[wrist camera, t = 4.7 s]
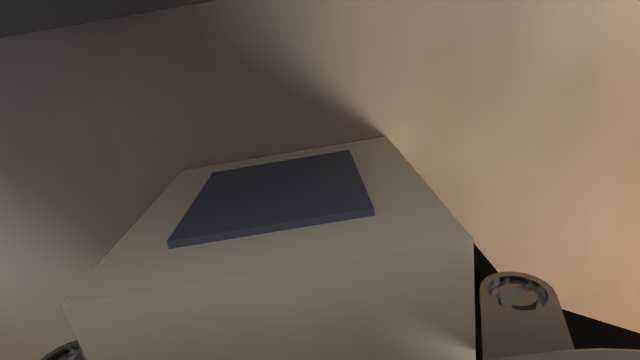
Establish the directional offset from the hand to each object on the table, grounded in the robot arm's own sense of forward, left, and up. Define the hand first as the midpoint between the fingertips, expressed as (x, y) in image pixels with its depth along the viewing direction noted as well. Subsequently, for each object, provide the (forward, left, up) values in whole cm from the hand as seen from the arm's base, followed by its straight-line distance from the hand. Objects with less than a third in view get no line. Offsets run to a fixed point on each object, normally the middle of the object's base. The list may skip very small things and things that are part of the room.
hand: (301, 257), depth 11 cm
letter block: (0, 0, -1) cm, 1 cm away
